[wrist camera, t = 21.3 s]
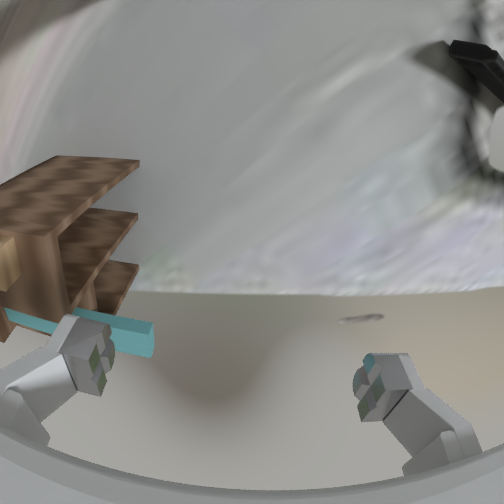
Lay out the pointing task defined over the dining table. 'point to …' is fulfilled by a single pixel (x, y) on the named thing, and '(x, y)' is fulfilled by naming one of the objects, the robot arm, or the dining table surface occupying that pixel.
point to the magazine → (481, 64)
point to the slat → (123, 329)
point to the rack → (62, 240)
